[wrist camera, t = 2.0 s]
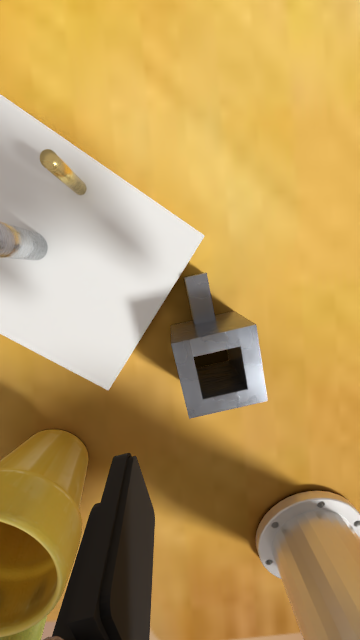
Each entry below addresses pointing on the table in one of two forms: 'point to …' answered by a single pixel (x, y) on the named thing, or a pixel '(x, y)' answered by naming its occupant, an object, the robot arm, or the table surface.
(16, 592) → the plant pot
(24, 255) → the steel post
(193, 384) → the grey socket block
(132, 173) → the table surface
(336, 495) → the robot arm
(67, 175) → the brass dowel
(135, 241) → the board
